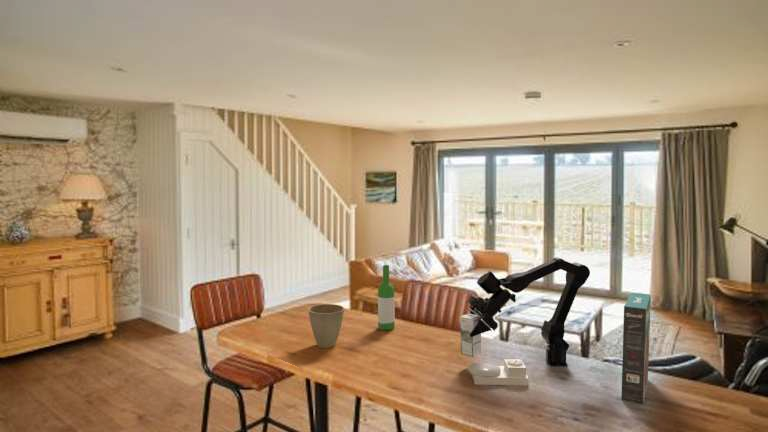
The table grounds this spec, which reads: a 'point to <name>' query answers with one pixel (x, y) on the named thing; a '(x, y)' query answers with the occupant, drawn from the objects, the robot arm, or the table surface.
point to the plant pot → (326, 323)
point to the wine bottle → (386, 302)
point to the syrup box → (468, 343)
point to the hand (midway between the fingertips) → (467, 332)
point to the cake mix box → (635, 347)
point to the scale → (500, 373)
